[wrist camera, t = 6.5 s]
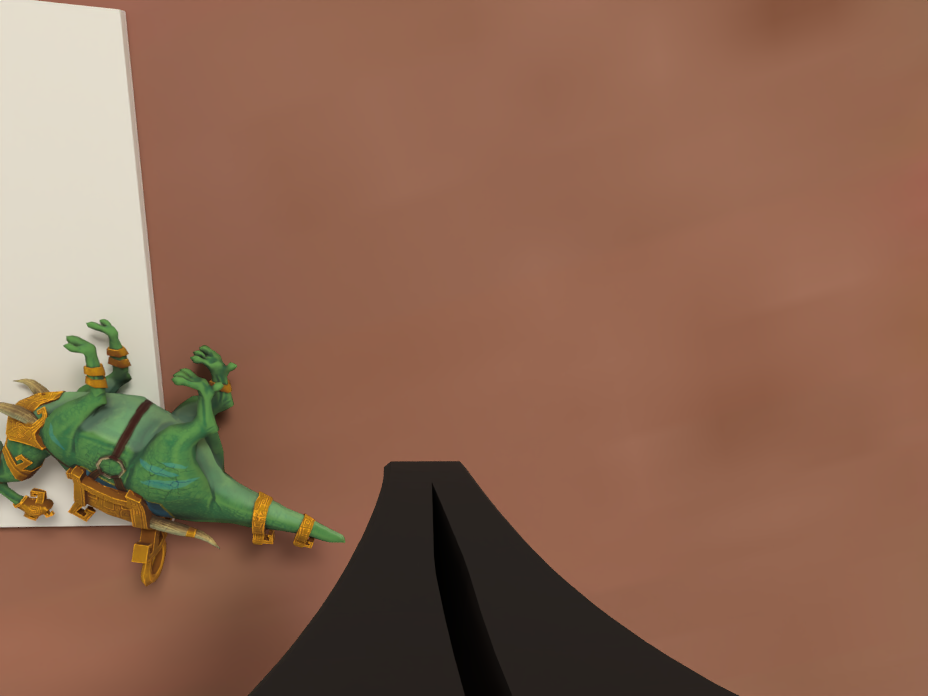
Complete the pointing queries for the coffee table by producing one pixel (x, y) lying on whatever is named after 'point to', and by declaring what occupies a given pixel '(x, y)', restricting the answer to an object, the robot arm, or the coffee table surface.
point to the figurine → (140, 456)
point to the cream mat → (69, 219)
